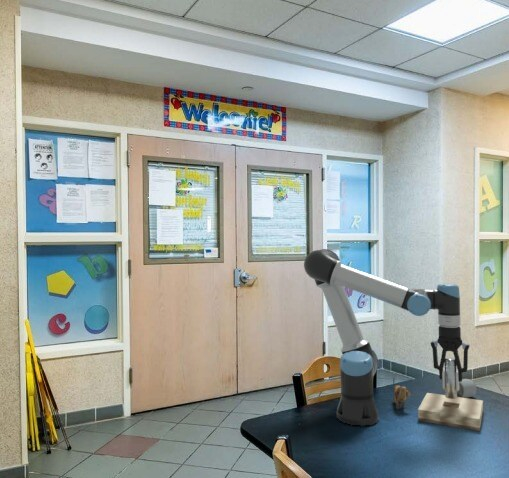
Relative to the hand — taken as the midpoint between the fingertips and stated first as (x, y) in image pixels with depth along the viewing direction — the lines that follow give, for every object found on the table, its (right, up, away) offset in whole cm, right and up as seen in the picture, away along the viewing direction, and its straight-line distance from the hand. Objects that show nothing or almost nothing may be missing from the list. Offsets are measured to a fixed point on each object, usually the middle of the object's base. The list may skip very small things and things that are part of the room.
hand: (451, 388), depth 167 cm
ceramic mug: (+13, -10, +20) cm, 26 cm away
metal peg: (0, -3, 0) cm, 3 cm away
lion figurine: (-15, -11, +12) cm, 22 cm away
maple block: (0, -10, 0) cm, 10 cm away
